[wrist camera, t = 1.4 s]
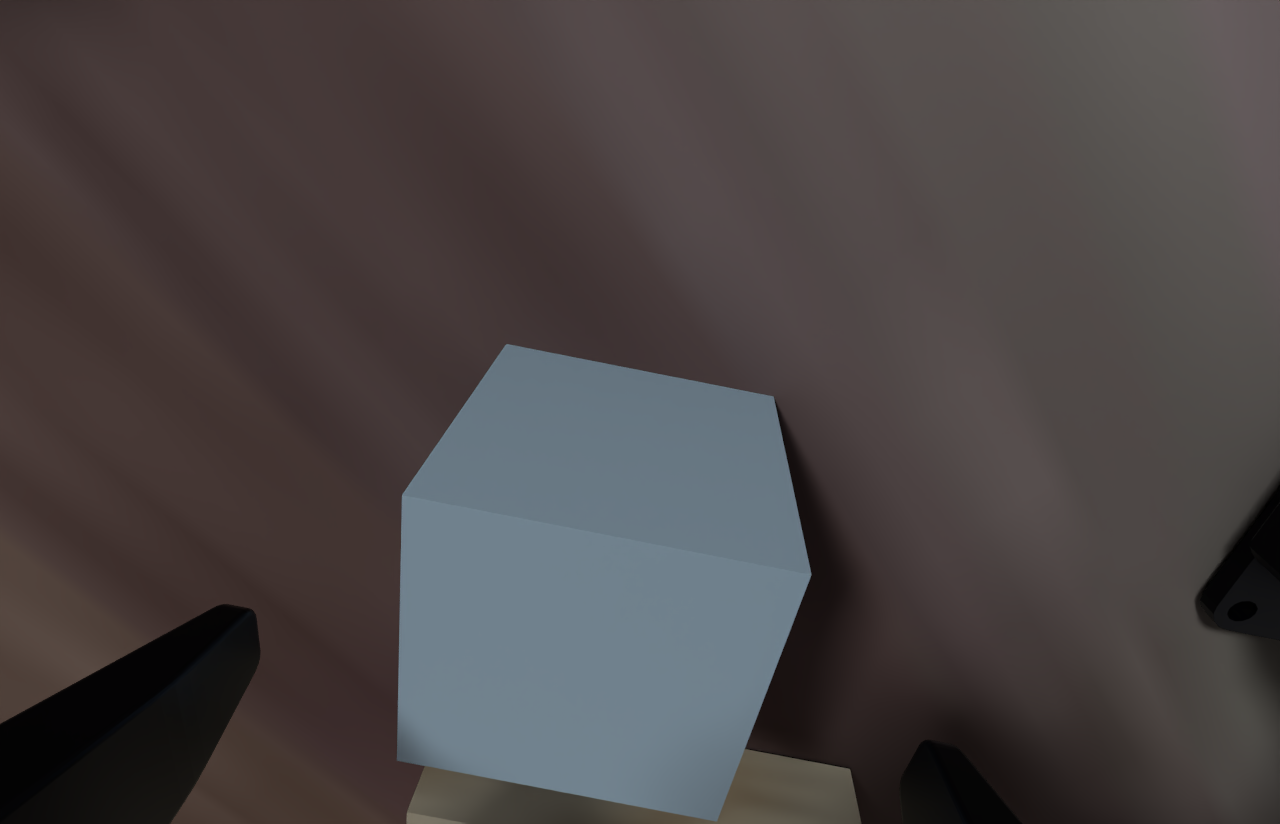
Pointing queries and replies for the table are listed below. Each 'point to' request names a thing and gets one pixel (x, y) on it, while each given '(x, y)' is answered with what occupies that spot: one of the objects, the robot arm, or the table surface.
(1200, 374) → the table surface
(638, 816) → the maple base
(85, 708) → the robot arm
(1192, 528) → the table surface
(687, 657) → the slate block
